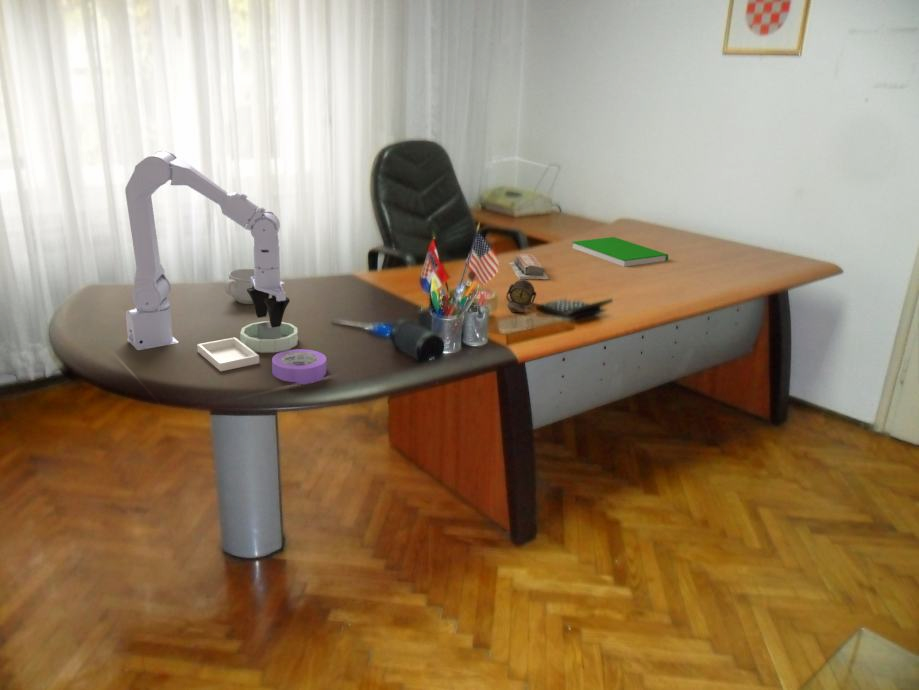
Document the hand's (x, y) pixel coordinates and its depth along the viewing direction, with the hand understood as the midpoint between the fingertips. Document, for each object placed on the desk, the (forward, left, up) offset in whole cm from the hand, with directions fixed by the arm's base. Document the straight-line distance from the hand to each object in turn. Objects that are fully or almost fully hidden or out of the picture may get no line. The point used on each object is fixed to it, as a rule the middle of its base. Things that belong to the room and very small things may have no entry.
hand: (268, 321), depth 179 cm
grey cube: (0, 0, -5) cm, 5 cm away
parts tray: (-12, -4, -6) cm, 14 cm away
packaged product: (+102, +17, -7) cm, 103 cm away
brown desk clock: (+74, -8, -6) cm, 74 cm away
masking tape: (-2, -19, -6) cm, 20 cm away
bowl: (0, 0, -6) cm, 6 cm away
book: (+150, +19, -7) cm, 152 cm away
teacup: (+8, +32, -6) cm, 33 cm away
